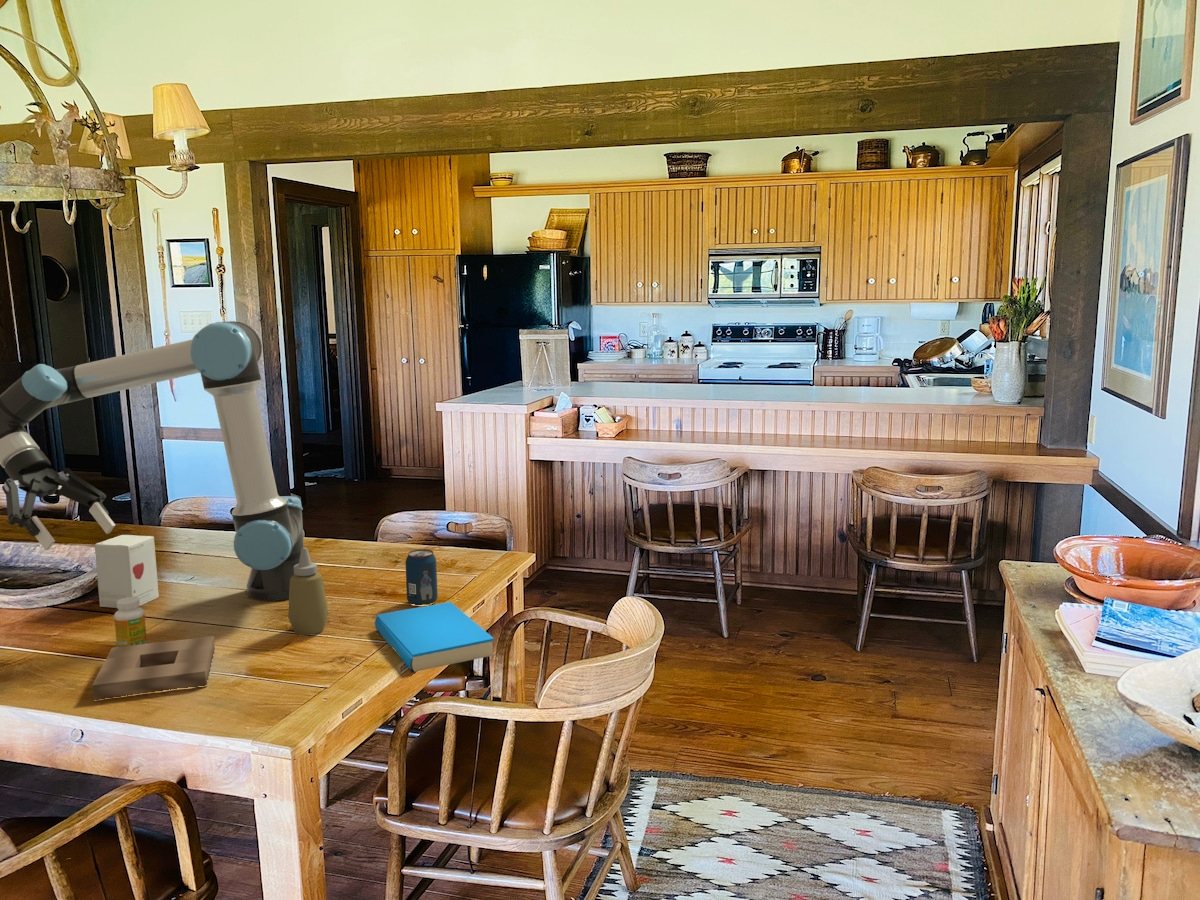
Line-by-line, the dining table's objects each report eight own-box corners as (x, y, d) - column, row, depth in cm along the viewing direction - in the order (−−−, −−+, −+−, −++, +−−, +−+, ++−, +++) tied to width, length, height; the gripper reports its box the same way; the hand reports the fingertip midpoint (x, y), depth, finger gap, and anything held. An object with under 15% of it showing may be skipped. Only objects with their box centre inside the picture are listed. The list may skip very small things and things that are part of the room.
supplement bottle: (131, 652, 176) (127, 605, 174) (110, 649, 177) (106, 603, 176) (153, 643, 181) (149, 597, 179) (132, 640, 182) (128, 594, 181)
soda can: (420, 596, 209) (418, 547, 207) (443, 600, 206) (442, 550, 204) (400, 605, 203) (398, 554, 201) (424, 609, 200) (422, 558, 198)
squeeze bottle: (292, 640, 182) (286, 555, 179) (286, 628, 189) (281, 546, 186) (332, 633, 185) (328, 550, 182) (325, 621, 192) (320, 541, 189)
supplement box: (133, 610, 200) (127, 546, 198) (98, 607, 202) (92, 543, 200) (160, 597, 209) (155, 535, 207) (127, 594, 211) (121, 533, 208)
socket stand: (214, 650, 177) (213, 636, 176) (206, 687, 160) (205, 671, 159) (113, 662, 171) (112, 647, 170) (93, 701, 154) (92, 685, 154)
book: (450, 601, 195) (495, 636, 173) (450, 620, 196) (496, 657, 174) (372, 615, 186) (410, 653, 165) (373, 634, 187) (411, 675, 166)
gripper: (69, 461, 195) (125, 534, 192) (-48, 482, 172) (14, 565, 169) (85, 438, 192) (142, 512, 189) (-32, 456, 169) (30, 540, 166)
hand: (81, 537), depth 179 cm, fingers open, 13 cm apart
